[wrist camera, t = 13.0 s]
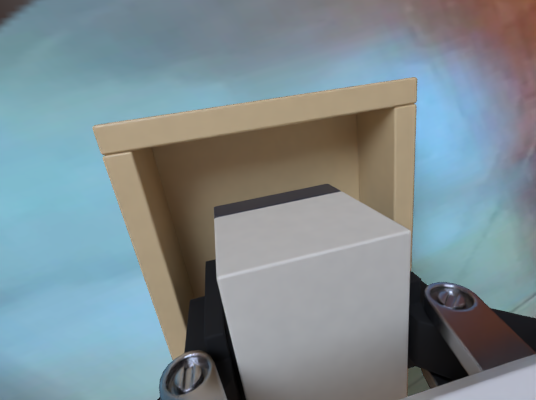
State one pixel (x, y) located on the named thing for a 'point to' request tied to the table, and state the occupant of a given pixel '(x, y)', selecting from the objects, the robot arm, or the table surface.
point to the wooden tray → (251, 173)
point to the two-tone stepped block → (315, 296)
